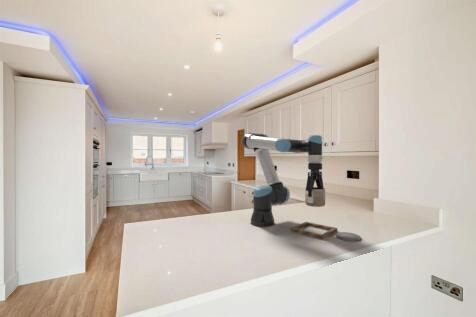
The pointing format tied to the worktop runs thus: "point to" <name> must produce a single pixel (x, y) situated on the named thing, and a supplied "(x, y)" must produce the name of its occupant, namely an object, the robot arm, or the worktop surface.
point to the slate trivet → (348, 236)
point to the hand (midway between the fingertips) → (315, 201)
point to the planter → (316, 197)
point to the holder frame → (321, 236)
